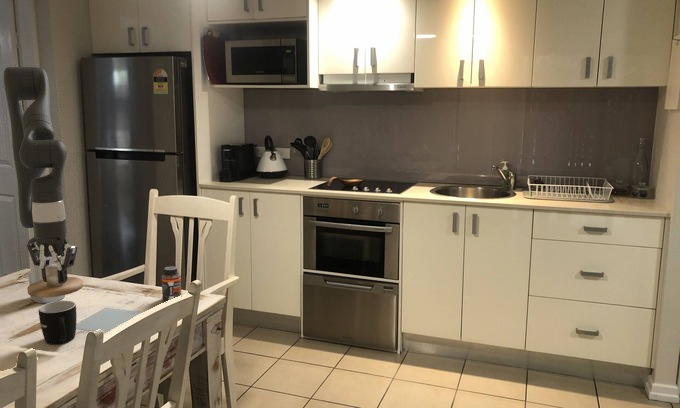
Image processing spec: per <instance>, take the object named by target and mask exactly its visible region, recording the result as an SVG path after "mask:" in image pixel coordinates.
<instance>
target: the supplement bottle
mask: <svg viewBox="0 0 680 408" xmlns="http://www.w3.org/2000/svg"><path fill="white" fill-rule="evenodd" d="M163 271H164V272H163V273H164V274H162V275H161V292H162V293H161V295H162V302H164V303H166V302H165V301H168V300H171V299H173V298H175V297H178V296H180V295H181V296H182V278H181V277H182V276H181V274H180V273H179V272H178V267H177V266H166V267H164V269H163Z"/></svg>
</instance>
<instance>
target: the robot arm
mask: <svg viewBox="0 0 680 408" xmlns="http://www.w3.org/2000/svg"><path fill="white" fill-rule="evenodd" d="M3 87H4V92H5V93H4V94H5V97H6V103H7V108H8V113H9V114H8V115H9V119H10V129H11V142H12V155H13V161H14V168H15V173H16V179H17V180H16V181H17V195H18V197H17V198H18V212H19V215H18V216H19V221H20V223H21V226H22V227H23V228H25V229H33V234H34V235H33V237H32V238H30V239H29V240H28V241H27V244H26V248H27V251H28V258H29V259H28V260H29V268H30V270H29V271H28V272H27V275H28V286H29V285H30V284H32V283H34V282H37V281H40V280H44V282H47V281H46V270H45V267H46V266H48V265H51V264H56V265H57V268H58V270H57V272H58V283H59V284H63V283H65V282H66V281H67V279H68V277H69V276H68V269H69V268H71V267H73V266H74V265H75V260H76V255H77V252H78V245H76V244H74V245H71V244H69V242H68V240H67V234H68V226H67V217H66V208H65V207H66V206H65V204H64V195H63V174H64V169H65V166H66V165H65V164H66V161H67V155H68V151H67V149H68V148H67V147H66V145H65V144H64V142H63V141H61V140H59V139H55V129H54V126H53V121H52V114H51V113H52V112H51V106H52V105H51V89H50V80H49V76H48V73H47V71H46V70H45V69H44V68H42V67H38V66H7V67H5V68H4V70H3ZM20 101H33V102H32V103H30V105H28V107H27V108H26V109H25V110H24V109H23V107H22V105H21V102H20ZM48 168H49V169H51V171H50V172H49V173H48V174H47V175H44V176H43V173H44V172H45V170H46V169H48ZM65 297H66V295H63V296H57V297H46V298H42V297H33V296H30V300H31V301H33V302H34V303H38V304H47V303H50V302H55V301H62V300H63V299H64V298H65Z"/></svg>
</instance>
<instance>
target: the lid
mask: <svg viewBox="0 0 680 408" xmlns="http://www.w3.org/2000/svg"><path fill="white" fill-rule="evenodd" d="M45 270H46V281H47V282H44V280H40V281H37V282H34V283H32V284H30V285H29V284H28V285H27V288H26V289H27V295H28V296H30V297H31V296H33V297H42V298H46V297H57V296H63V295H65V296H67V295H70V294H73V293H76V292H78V291H80V290H82V288H83V287H84V283H83V281H84V280H83V279H82V278H80V277H75V276H68V279H67V281H66V282H65V283H63V284H59V283H58V272H57V270H58V268H57V265H56V264H51V265H48V266H46V267H45Z"/></svg>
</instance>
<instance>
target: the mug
mask: <svg viewBox="0 0 680 408" xmlns="http://www.w3.org/2000/svg"><path fill="white" fill-rule="evenodd" d="M38 318H39V323H40V328H41V332H42V336H43V339H44V341H45V343H46V344H47V345H52V346H57V345H58V346H59V345H64V344H67V343H69V342H72V341H73V340H74V339H75V338H76V332H77V329H76V324H77V304H76V302H74V301H73V300H58V301H54V302H49V303H43V305H41V306H39V308H38Z"/></svg>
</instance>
